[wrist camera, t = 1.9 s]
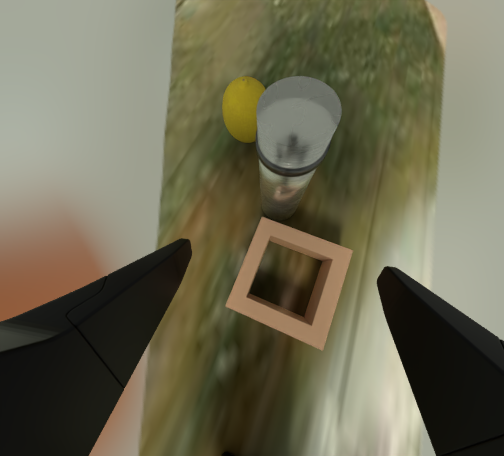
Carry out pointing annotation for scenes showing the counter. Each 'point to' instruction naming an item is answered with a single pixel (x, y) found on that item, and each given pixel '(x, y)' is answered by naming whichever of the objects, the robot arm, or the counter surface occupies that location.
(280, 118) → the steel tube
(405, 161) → the counter surface
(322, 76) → the counter surface
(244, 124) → the lemon
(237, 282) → the terracotta collar
